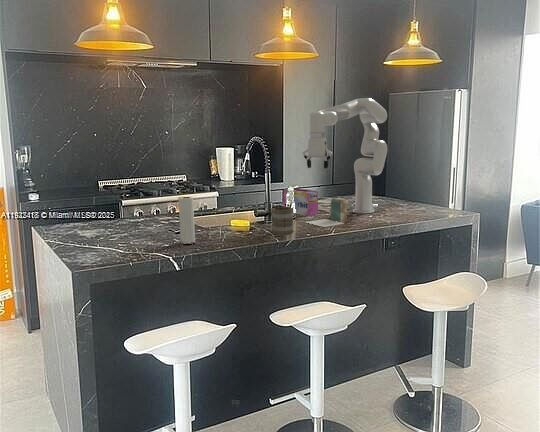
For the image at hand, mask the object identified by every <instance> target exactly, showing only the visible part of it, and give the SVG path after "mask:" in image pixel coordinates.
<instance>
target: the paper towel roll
mask: <svg viewBox="0 0 540 432" xmlns="http://www.w3.org/2000/svg"><path fill="white" fill-rule="evenodd" d="M177 198H178V199H177V200H178V216H179V236H180V237H179V239H180V241H181V240H182V242H184V243H191V242H195V243H196V234H195V232H196V230H195V228H196V227H195V212H194V210H195V209H194V207H195V206H194V197H193V196H178V197H177ZM182 242H181V243H182Z"/></svg>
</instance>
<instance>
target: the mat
mask: <svg viewBox="0 0 540 432" xmlns="http://www.w3.org/2000/svg"><path fill="white" fill-rule="evenodd" d="M304 223H305V224H308V223H309V225H312V224H313V226H318V227H321V228H328V227H334V226H335V227H336V226H341V225H345V223H346V222H342V223H341V222H336V221H332V220H331V219H327V218H324V219H318V220H317V219H316V220H312V221H311V220H310V221H305V222H304Z"/></svg>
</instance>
